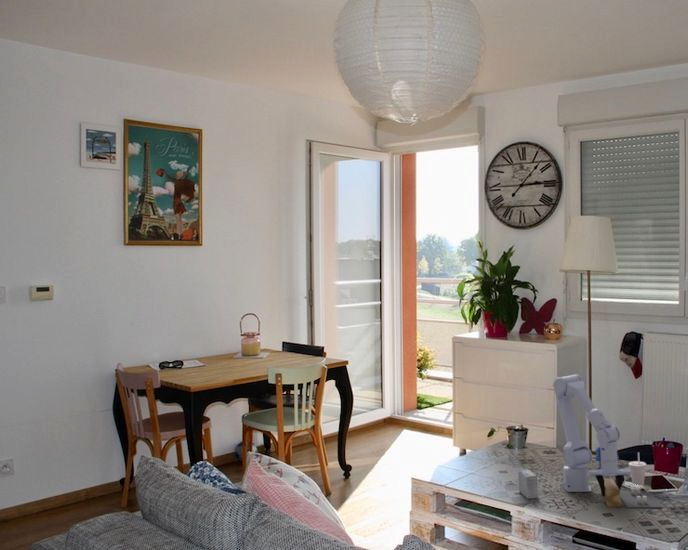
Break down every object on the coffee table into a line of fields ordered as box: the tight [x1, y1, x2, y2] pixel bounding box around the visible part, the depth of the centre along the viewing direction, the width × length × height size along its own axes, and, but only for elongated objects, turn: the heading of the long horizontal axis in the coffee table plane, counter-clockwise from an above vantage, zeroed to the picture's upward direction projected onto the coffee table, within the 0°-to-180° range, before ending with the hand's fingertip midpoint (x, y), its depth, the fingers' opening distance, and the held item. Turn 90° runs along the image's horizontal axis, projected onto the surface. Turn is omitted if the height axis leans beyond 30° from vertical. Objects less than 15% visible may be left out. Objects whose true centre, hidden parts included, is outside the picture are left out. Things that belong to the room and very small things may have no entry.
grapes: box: [594, 445, 620, 468], centre depth 307 cm, size 12×7×12 cm, turn 31°
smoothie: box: [628, 451, 647, 486], centre depth 283 cm, size 6×6×14 cm
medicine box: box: [518, 469, 539, 500], centre depth 282 cm, size 8×4×9 cm, turn 9°
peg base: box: [620, 487, 663, 509], centre depth 270 cm, size 12×16×3 cm
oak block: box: [600, 478, 621, 507], centre depth 272 cm, size 4×12×6 cm, turn 172°
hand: (610, 495), depth 272 cm, fingers closed on oak block, 4 cm apart
